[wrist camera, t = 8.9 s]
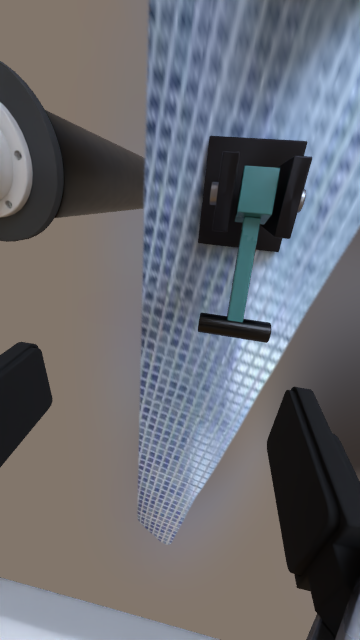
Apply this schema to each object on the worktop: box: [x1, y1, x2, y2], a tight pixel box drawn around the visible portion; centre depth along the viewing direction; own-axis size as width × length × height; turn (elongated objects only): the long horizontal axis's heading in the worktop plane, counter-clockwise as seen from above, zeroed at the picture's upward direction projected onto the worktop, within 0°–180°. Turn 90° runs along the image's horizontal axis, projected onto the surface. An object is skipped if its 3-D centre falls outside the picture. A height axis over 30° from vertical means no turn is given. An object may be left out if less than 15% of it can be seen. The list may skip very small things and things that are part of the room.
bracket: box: [198, 136, 312, 252], centre depth 20 cm, size 10×9×13 cm
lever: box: [198, 166, 280, 343], centre depth 17 cm, size 11×5×2 cm, turn 174°
